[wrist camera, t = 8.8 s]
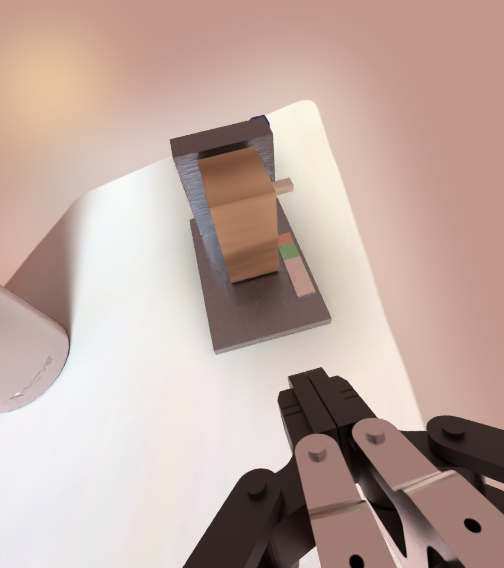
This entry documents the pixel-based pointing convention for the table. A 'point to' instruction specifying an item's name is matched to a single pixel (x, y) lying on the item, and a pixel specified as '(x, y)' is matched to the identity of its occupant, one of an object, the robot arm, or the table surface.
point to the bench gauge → (212, 268)
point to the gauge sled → (243, 211)
